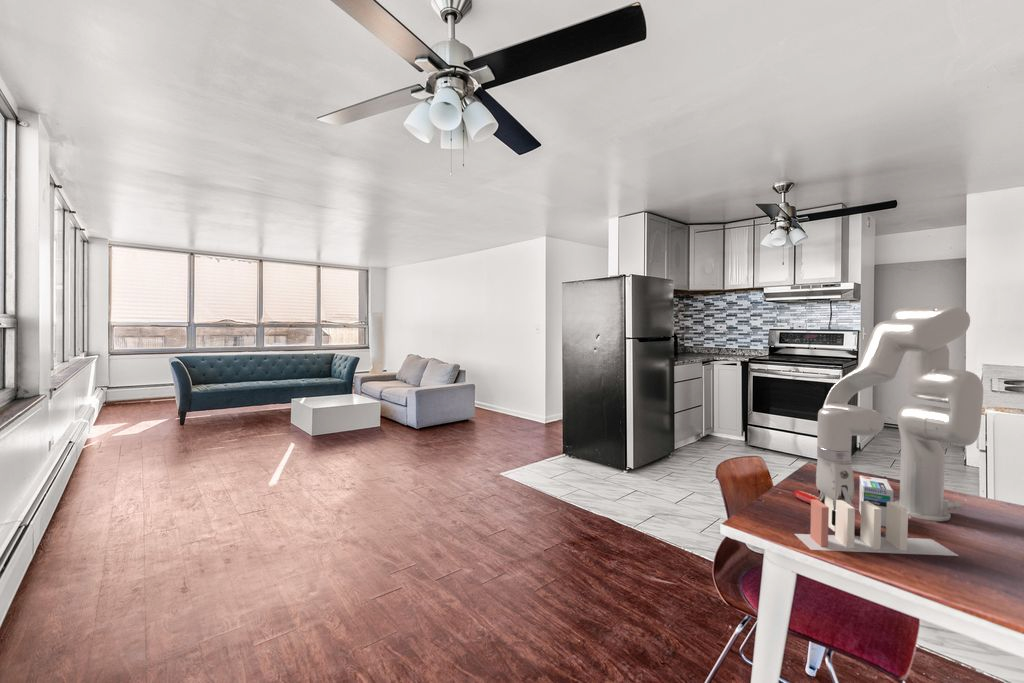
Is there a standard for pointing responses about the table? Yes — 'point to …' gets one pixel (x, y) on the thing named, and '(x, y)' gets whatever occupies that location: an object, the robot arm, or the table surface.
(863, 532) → the domino
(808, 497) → the candy bar
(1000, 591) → the table surface
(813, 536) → the domino
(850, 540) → the domino
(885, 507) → the light bulb box
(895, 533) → the domino
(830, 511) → the domino
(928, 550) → the felt strip
